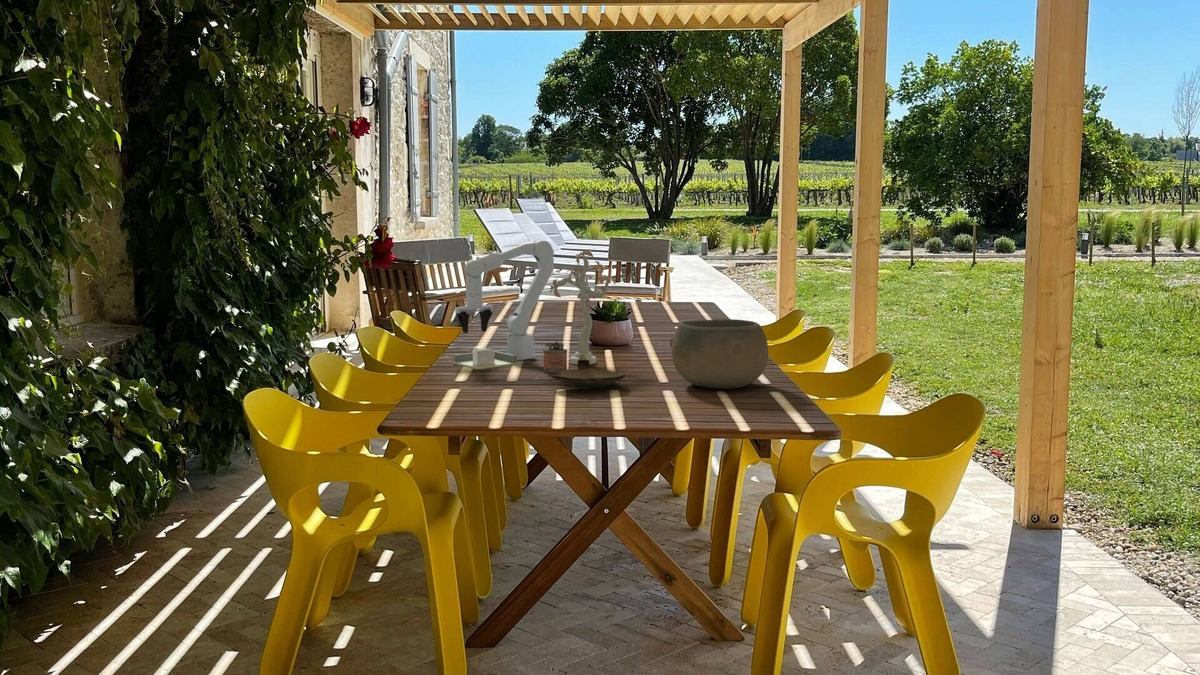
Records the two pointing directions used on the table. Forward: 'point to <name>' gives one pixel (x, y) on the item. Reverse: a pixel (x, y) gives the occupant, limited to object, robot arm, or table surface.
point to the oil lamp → (587, 376)
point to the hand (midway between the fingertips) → (474, 332)
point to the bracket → (483, 356)
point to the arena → (500, 360)
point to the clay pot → (720, 352)
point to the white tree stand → (584, 301)
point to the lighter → (555, 357)
